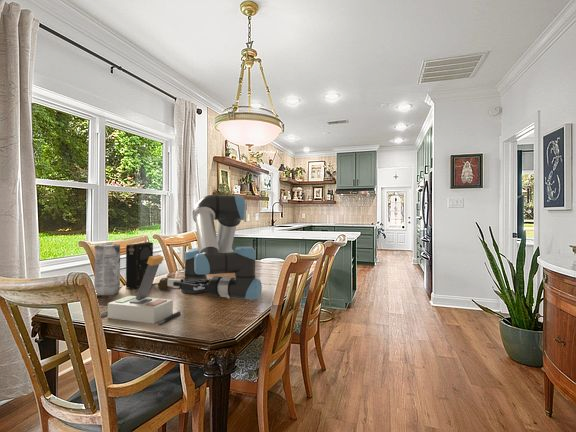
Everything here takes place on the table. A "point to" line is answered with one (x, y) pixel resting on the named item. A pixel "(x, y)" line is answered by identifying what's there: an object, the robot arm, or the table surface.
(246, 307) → the table surface
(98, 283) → the juice carton
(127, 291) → the table surface
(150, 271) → the lever
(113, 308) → the breaker housing
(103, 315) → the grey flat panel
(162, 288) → the kendama
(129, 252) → the voltmeter
